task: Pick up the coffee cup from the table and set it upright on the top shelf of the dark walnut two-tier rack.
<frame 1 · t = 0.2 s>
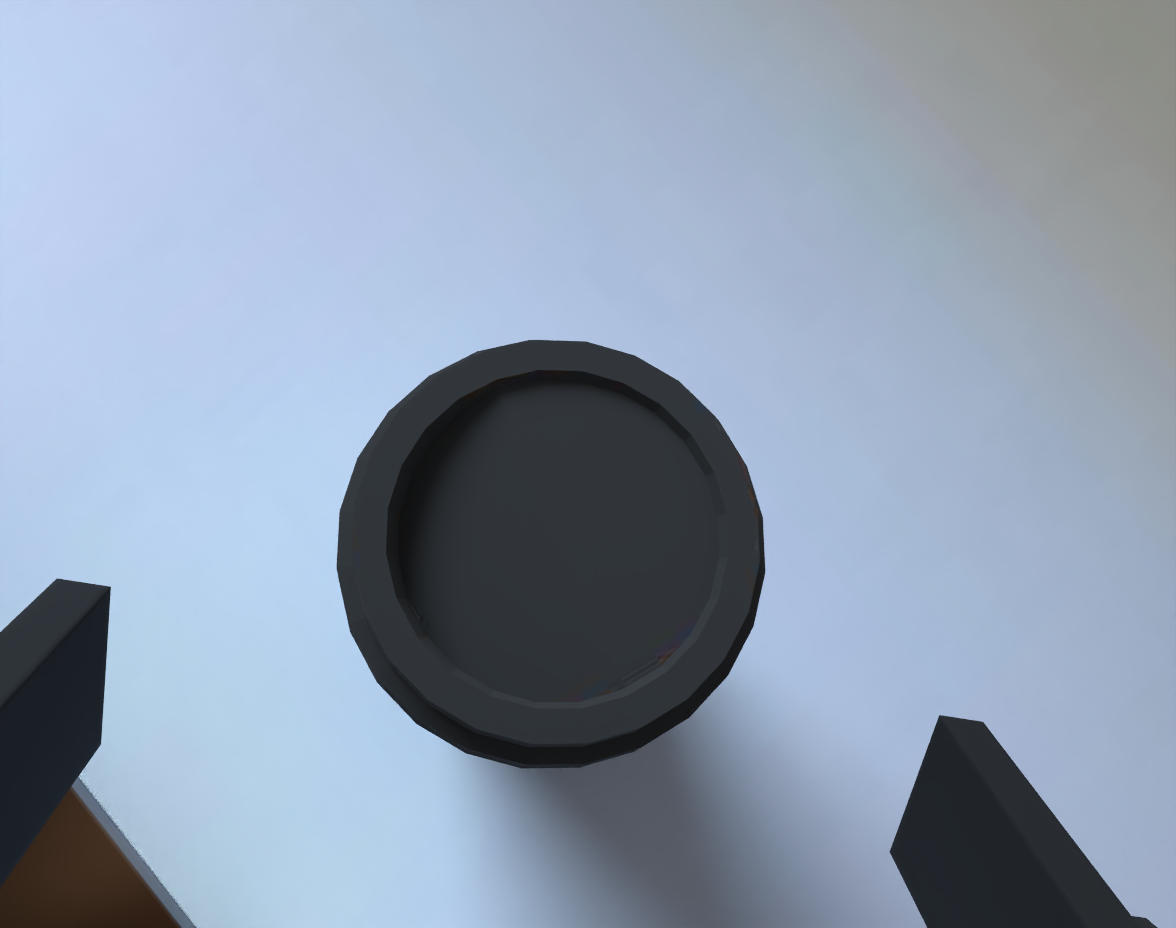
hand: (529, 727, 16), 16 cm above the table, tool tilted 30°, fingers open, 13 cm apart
coffee cup: (525, 608, 32), on the table
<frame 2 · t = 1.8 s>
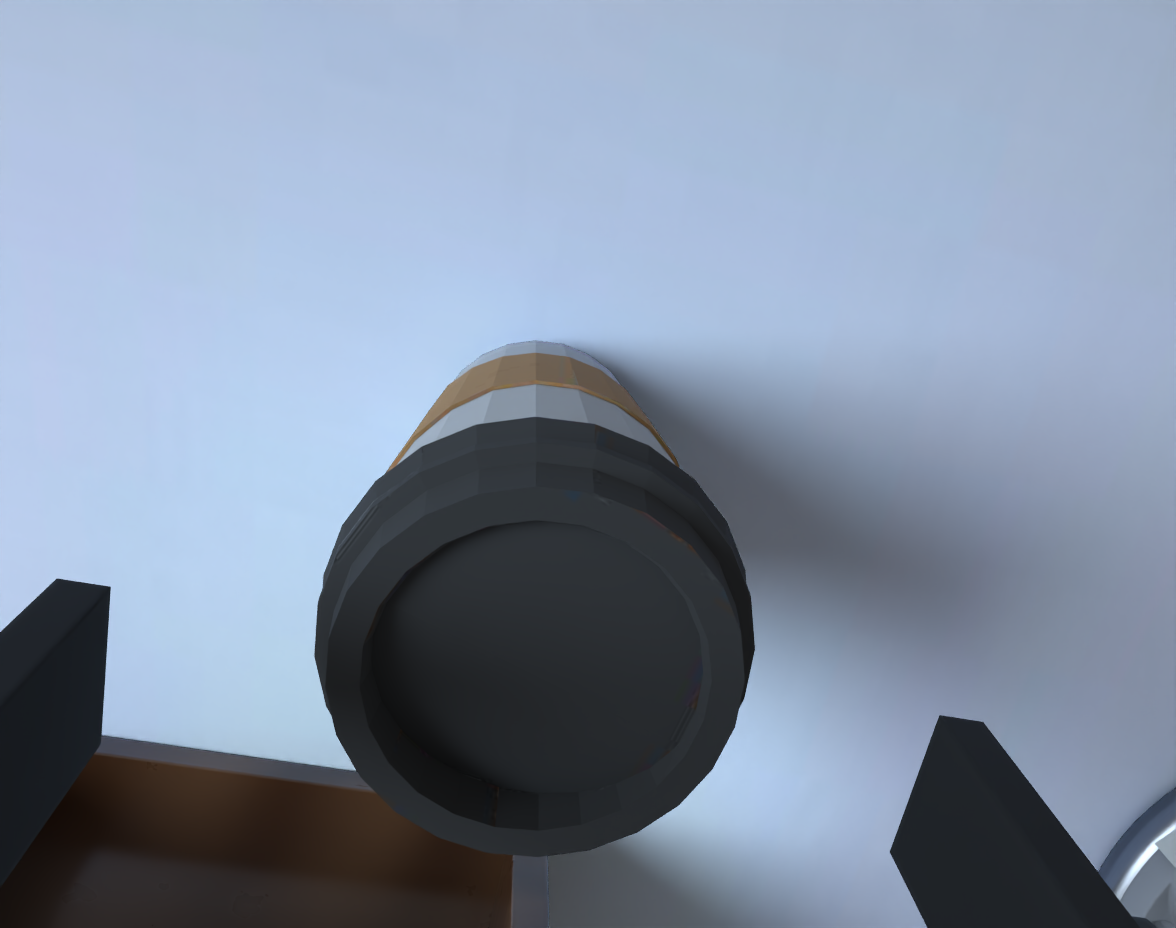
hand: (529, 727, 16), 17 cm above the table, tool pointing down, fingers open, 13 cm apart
rack: (247, 906, 36), on the table
coffee cup: (536, 434, 32), on the table
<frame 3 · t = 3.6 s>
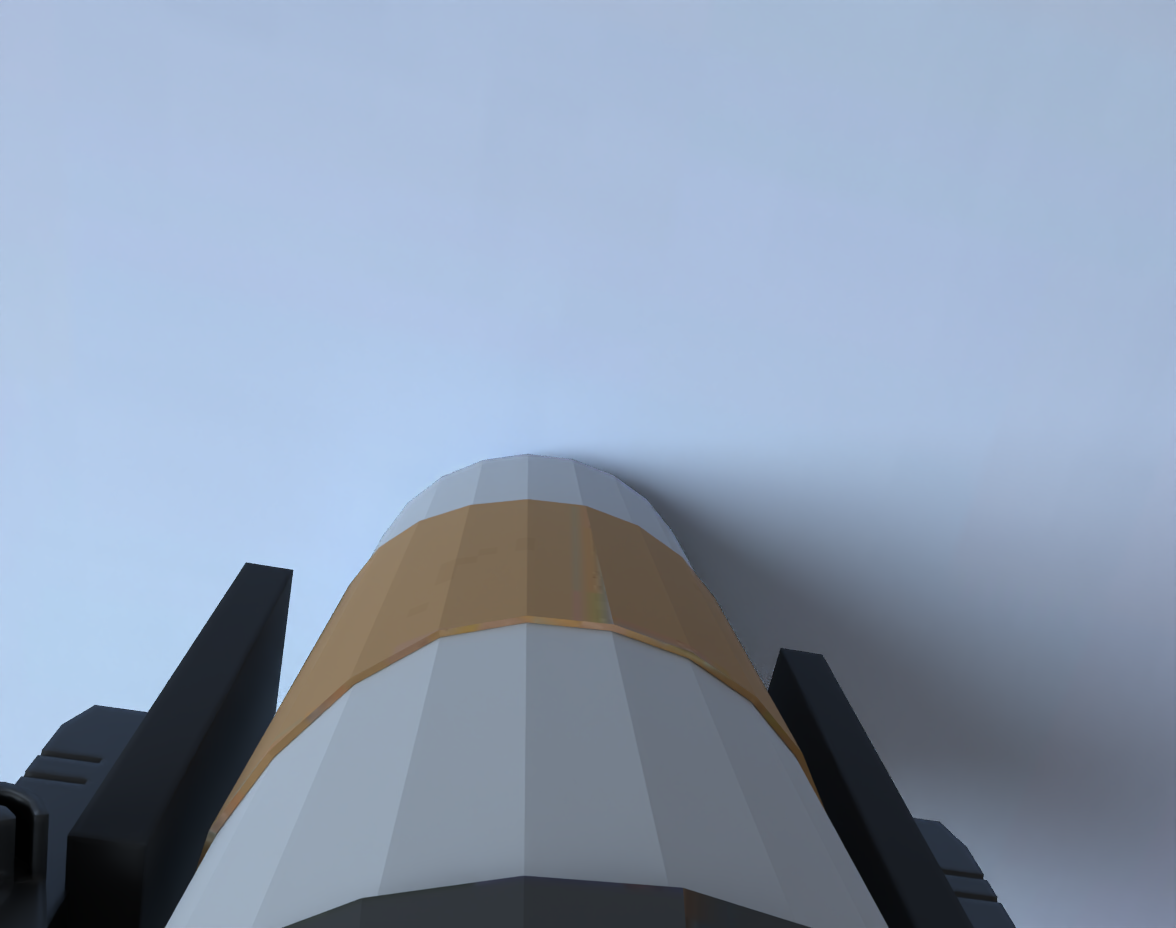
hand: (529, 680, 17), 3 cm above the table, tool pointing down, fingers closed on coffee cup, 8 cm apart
coffee cup: (529, 590, 20), on the table, touching gripper
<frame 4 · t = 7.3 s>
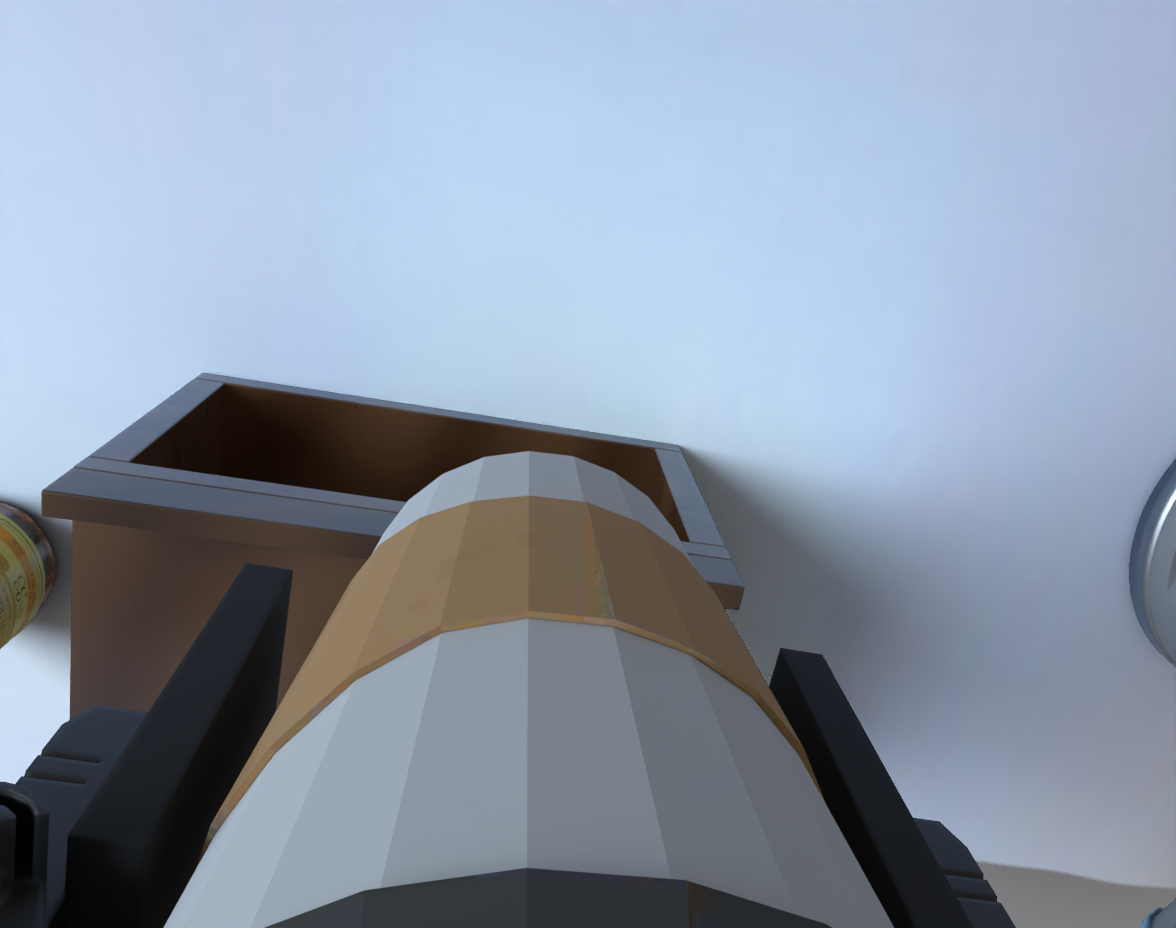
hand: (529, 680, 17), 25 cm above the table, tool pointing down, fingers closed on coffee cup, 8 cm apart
rack: (427, 550, 43), on the table
coffee cup: (530, 587, 20), point 22 cm above the table, touching gripper
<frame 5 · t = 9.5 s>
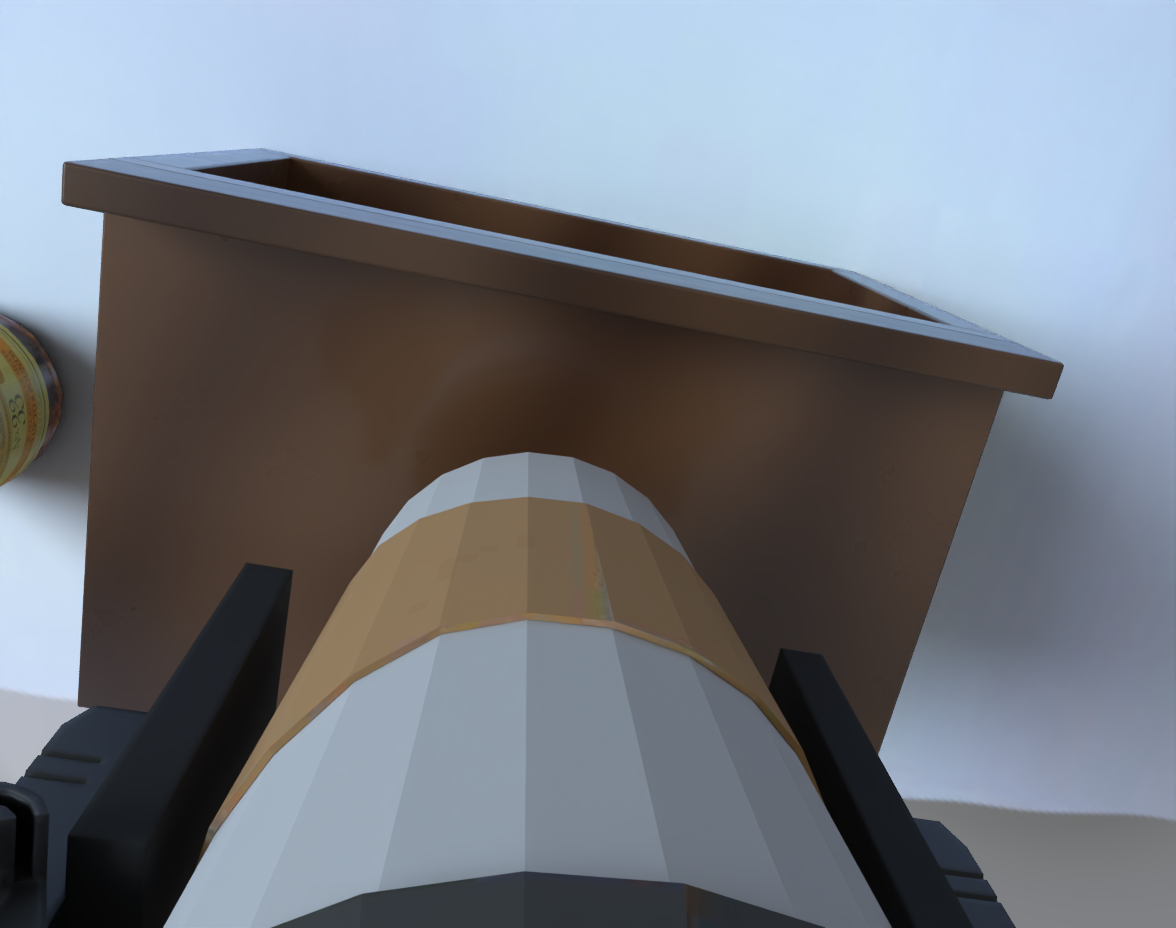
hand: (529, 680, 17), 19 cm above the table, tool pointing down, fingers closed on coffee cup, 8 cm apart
rack: (531, 399, 34), on the table
coffee cup: (529, 588, 20), point 15 cm above the table, touching gripper
when the fingers open (15 cm above the table, at t = 10.8 s): coffee cup stays where it is, resting on rack.
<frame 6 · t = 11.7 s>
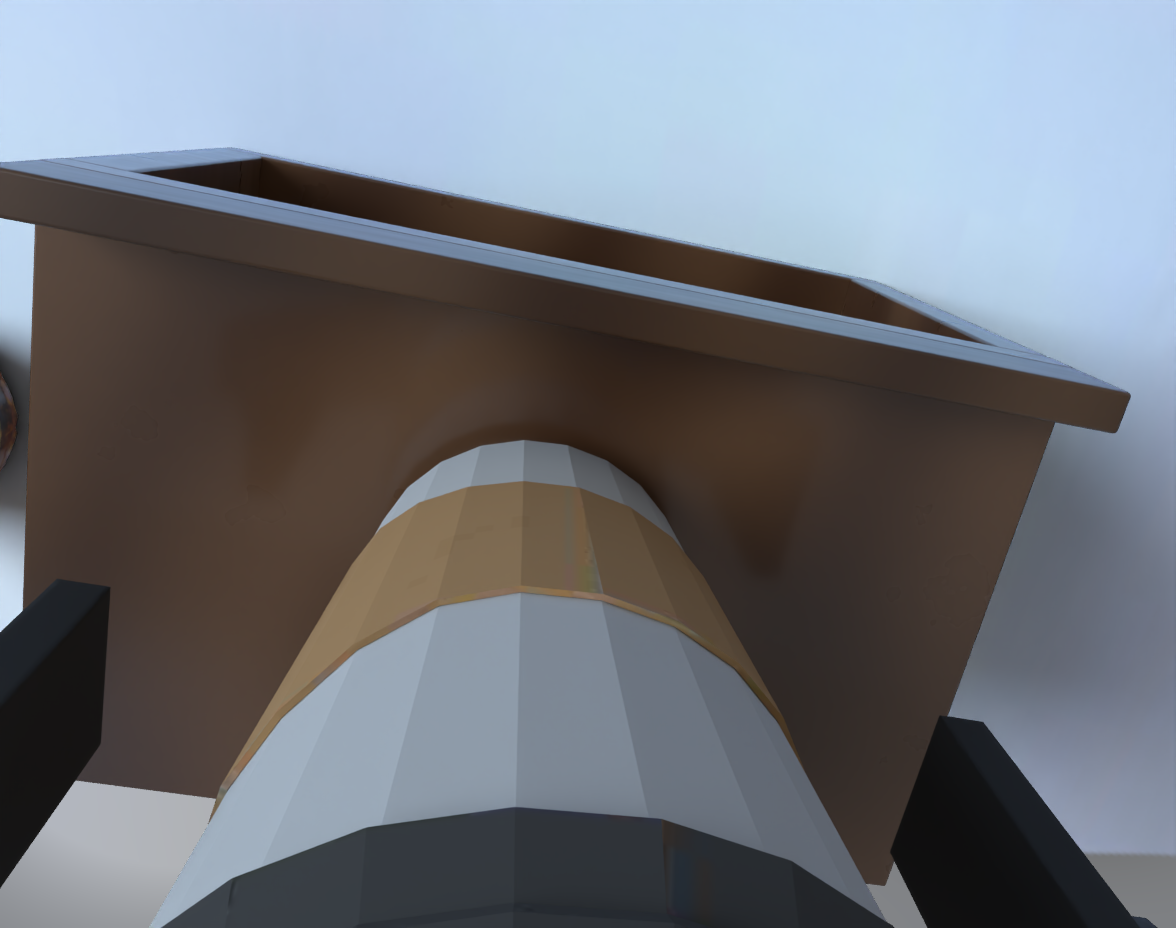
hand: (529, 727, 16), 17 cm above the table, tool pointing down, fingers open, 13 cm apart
rack: (526, 418, 32), on the table
coffee cup: (525, 573, 21), point 12 cm above the table, touching rack
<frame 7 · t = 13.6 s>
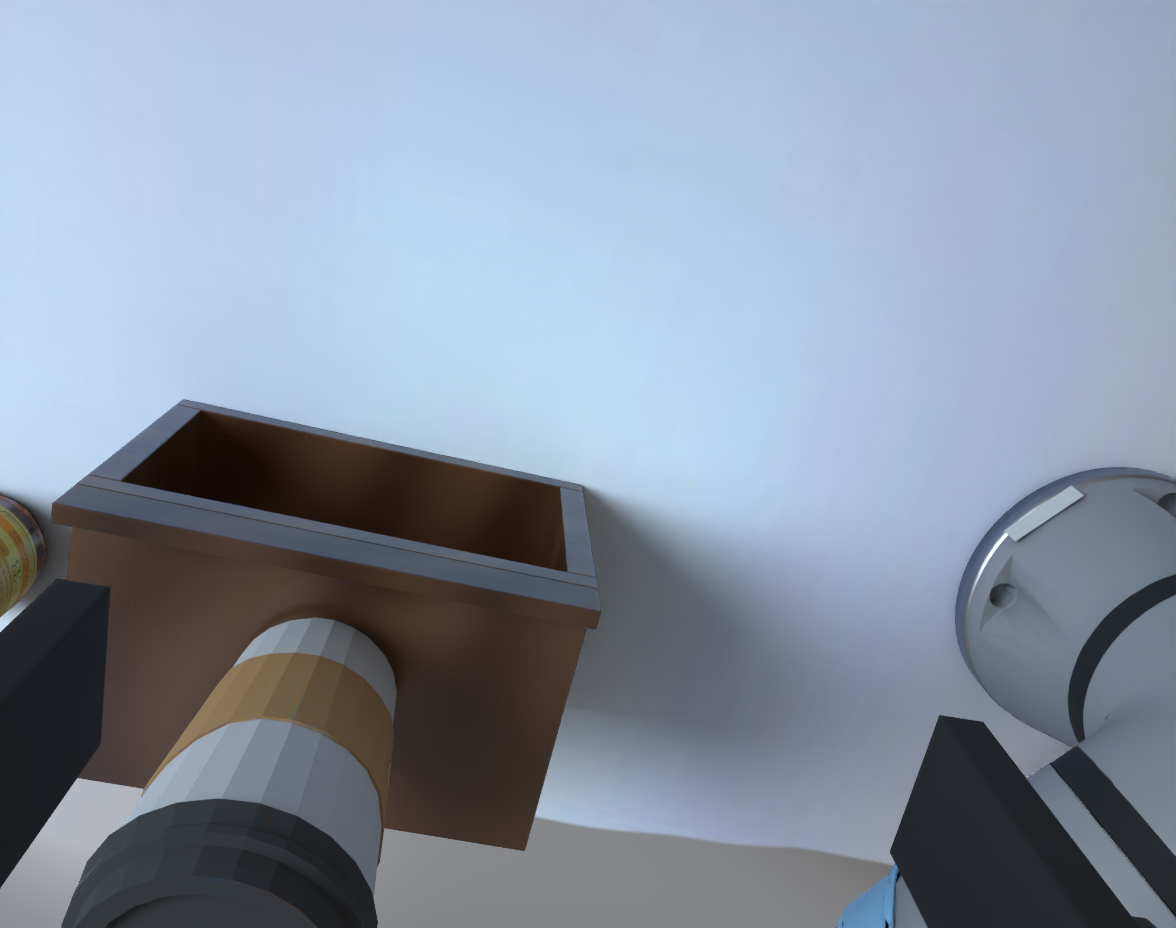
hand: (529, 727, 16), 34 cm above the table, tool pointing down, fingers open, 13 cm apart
rack: (364, 559, 51), on the table
coffee cup: (319, 679, 40), point 12 cm above the table, touching rack
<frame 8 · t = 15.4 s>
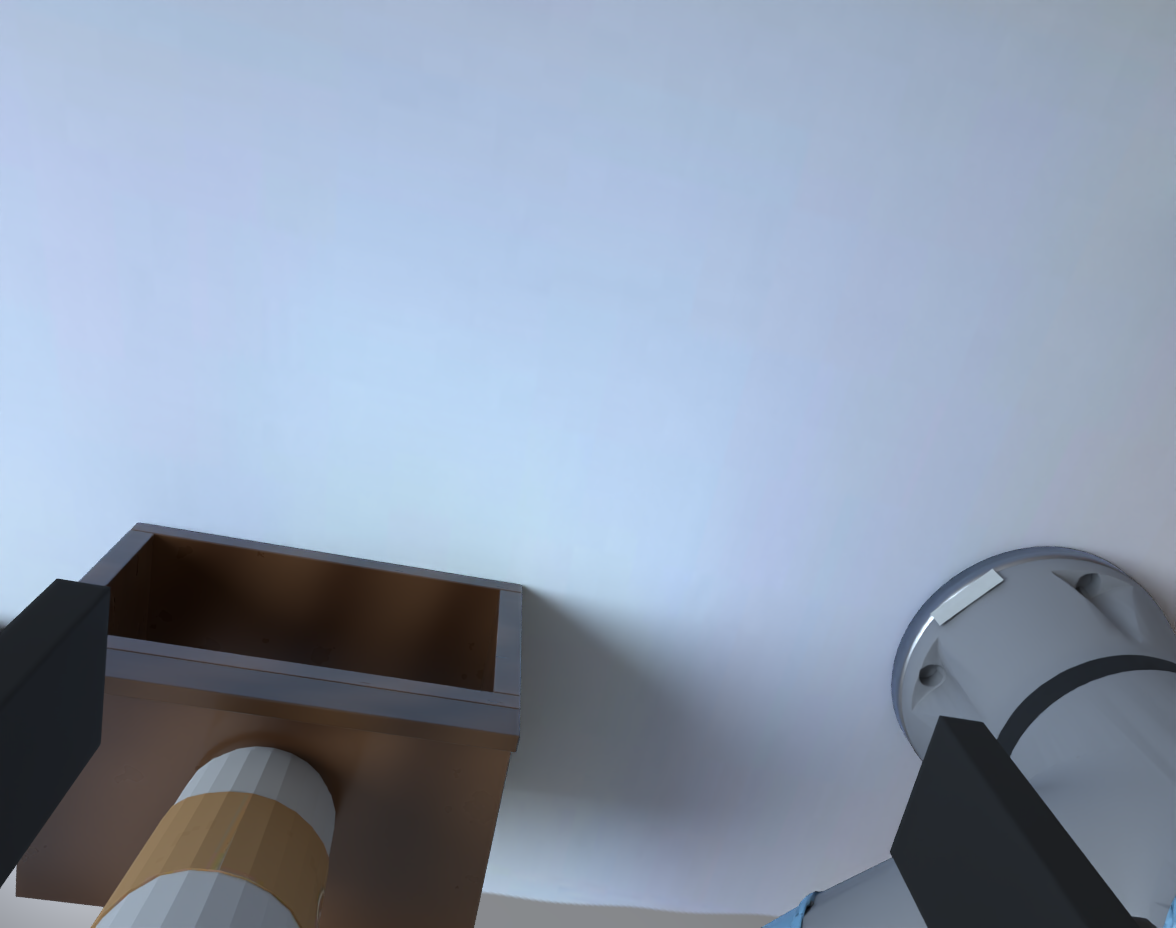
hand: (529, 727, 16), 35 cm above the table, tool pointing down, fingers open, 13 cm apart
rack: (319, 661, 54), on the table
coffee cup: (263, 801, 42), point 12 cm above the table, touching rack
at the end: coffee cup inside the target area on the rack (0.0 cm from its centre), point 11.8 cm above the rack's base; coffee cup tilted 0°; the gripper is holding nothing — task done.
